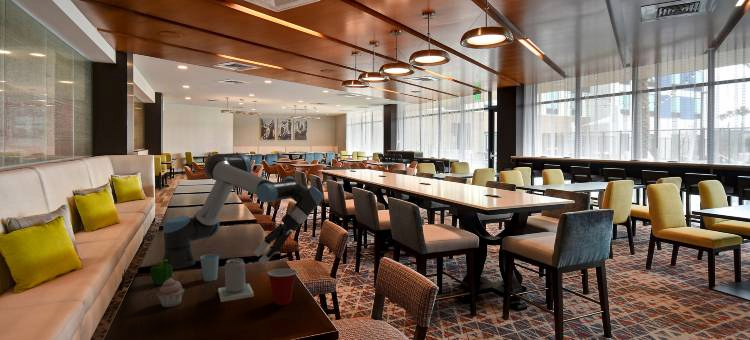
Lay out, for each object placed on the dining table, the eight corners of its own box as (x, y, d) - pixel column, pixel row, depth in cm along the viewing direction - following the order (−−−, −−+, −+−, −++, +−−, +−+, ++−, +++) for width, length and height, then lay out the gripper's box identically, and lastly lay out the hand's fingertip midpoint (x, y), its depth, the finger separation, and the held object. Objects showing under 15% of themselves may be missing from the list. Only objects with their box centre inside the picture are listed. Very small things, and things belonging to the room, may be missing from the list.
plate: (218, 291, 165) (218, 287, 165) (249, 287, 170) (249, 283, 170) (220, 302, 154) (220, 297, 154) (253, 296, 159) (253, 292, 159)
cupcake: (188, 298, 158) (187, 273, 157) (181, 308, 149) (180, 281, 148) (162, 300, 156) (161, 274, 156) (153, 310, 147) (152, 282, 147)
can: (228, 287, 165) (227, 257, 165) (247, 286, 166) (246, 257, 165) (223, 293, 158) (222, 263, 157) (243, 293, 158) (242, 262, 158)
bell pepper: (150, 288, 170) (149, 264, 170) (151, 282, 178) (150, 259, 177) (172, 285, 174) (171, 261, 173) (173, 279, 181) (172, 257, 181)
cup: (218, 275, 186) (217, 252, 185) (221, 280, 179) (220, 256, 178) (200, 278, 182) (199, 255, 181) (202, 283, 175) (201, 259, 174)
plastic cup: (303, 298, 156) (302, 267, 155) (288, 309, 146) (287, 276, 145) (278, 295, 160) (277, 265, 159) (262, 306, 150) (261, 273, 149)
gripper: (308, 229, 161) (270, 272, 156) (293, 219, 184) (260, 256, 178) (294, 217, 159) (255, 260, 153) (281, 208, 181) (247, 246, 176)
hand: (258, 258), depth 166 cm, fingers open, 13 cm apart
